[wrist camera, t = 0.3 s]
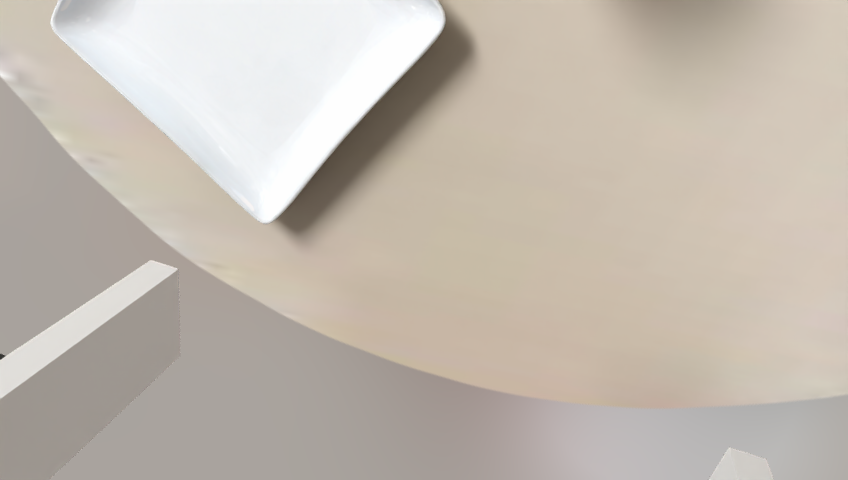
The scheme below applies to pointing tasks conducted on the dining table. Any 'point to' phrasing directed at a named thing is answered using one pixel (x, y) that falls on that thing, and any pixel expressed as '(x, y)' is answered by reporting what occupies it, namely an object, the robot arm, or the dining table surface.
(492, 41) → the dining table surface
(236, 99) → the salad plate
